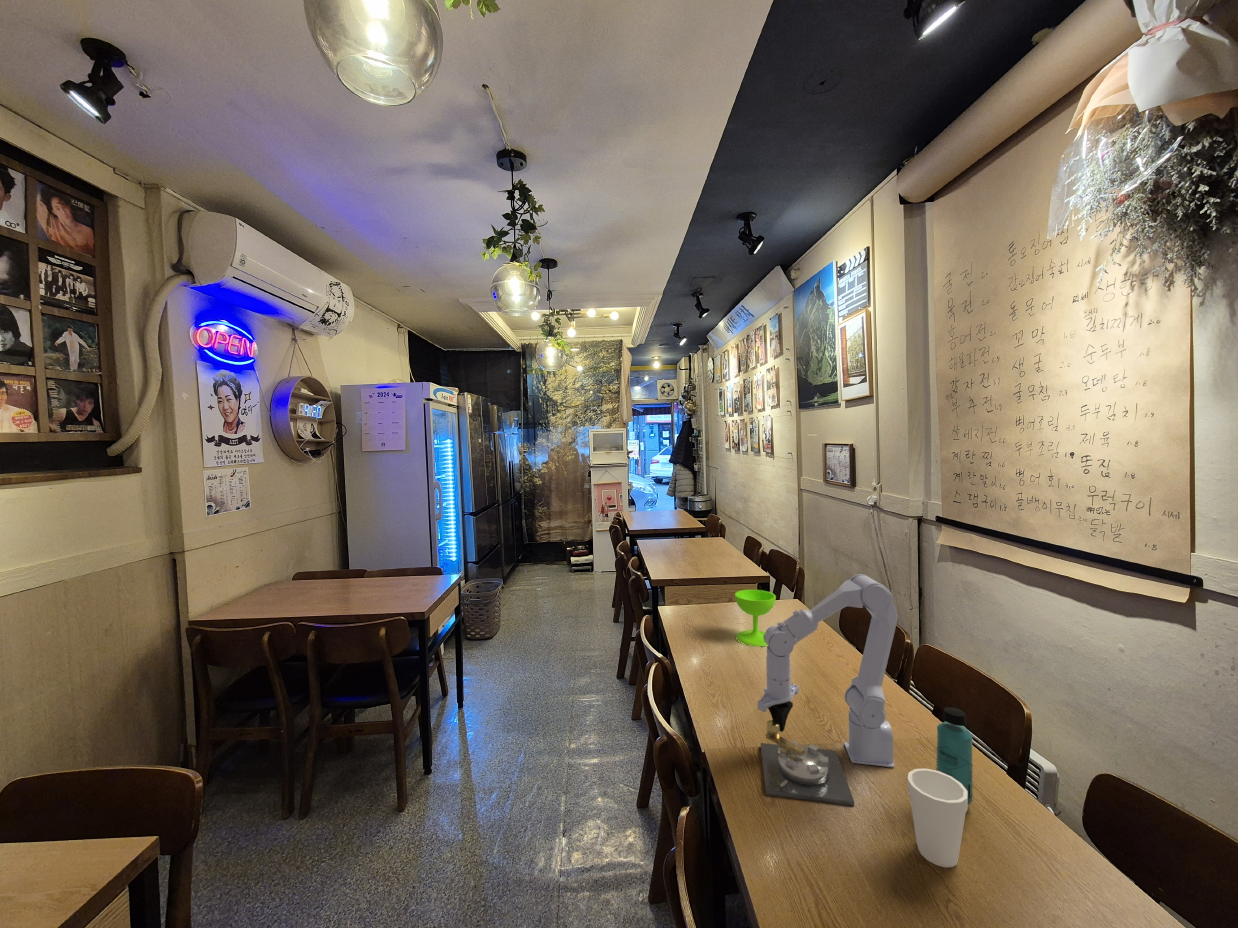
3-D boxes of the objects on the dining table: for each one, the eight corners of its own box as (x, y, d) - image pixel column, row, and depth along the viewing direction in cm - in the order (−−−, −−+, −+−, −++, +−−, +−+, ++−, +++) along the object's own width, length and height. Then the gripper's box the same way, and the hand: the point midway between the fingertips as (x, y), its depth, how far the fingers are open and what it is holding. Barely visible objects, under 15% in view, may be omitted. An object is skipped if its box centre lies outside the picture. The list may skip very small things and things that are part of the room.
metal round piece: (837, 770, 113) (837, 739, 113) (811, 791, 106) (811, 758, 106) (781, 741, 125) (780, 713, 124) (754, 758, 118) (754, 728, 118)
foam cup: (944, 832, 95) (944, 767, 95) (981, 873, 86) (981, 801, 86) (897, 834, 95) (896, 769, 95) (929, 875, 86) (928, 803, 86)
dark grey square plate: (835, 754, 120) (835, 750, 120) (854, 805, 103) (854, 800, 103) (760, 746, 124) (760, 742, 124) (766, 794, 107) (766, 789, 107)
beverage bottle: (938, 788, 108) (937, 699, 108) (974, 801, 104) (974, 708, 103) (934, 804, 103) (933, 711, 102) (972, 819, 99) (972, 722, 98)
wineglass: (727, 636, 200) (726, 592, 200) (757, 629, 207) (757, 587, 206) (753, 649, 185) (752, 603, 185) (785, 642, 192) (784, 597, 192)
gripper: (781, 662, 129) (782, 713, 129) (747, 678, 120) (747, 732, 120) (805, 671, 123) (806, 724, 123) (771, 689, 114) (772, 746, 115)
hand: (779, 729), depth 121 cm, fingers closed
